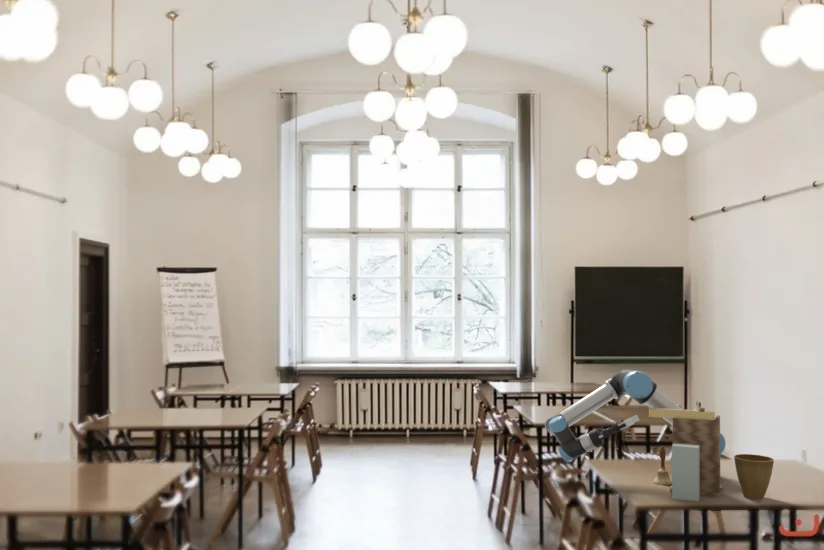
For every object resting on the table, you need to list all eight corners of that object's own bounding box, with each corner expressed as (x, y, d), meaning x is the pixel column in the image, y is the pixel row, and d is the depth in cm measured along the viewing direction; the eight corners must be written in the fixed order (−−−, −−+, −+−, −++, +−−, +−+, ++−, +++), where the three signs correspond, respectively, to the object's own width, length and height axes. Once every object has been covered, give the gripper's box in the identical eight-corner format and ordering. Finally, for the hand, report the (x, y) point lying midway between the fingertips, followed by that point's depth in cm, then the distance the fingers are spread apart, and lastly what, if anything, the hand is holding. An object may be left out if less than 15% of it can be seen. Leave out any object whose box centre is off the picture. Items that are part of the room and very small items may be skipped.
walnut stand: (669, 492, 329) (669, 415, 330) (673, 486, 339) (672, 412, 341) (721, 497, 320) (721, 418, 322) (723, 491, 331) (722, 415, 333)
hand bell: (673, 485, 342) (673, 448, 343) (653, 484, 344) (653, 447, 344) (671, 481, 350) (671, 445, 351) (652, 480, 352) (652, 444, 353)
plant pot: (728, 496, 322) (727, 457, 322) (743, 491, 332) (743, 452, 333) (765, 503, 311) (765, 462, 312) (780, 497, 322) (779, 457, 322)
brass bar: (648, 416, 337) (648, 405, 338) (649, 415, 341) (649, 404, 341) (714, 420, 327) (714, 409, 327) (714, 419, 330) (714, 408, 330)
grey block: (672, 498, 317) (671, 445, 318) (673, 495, 324) (673, 443, 325) (698, 501, 313) (698, 447, 314) (699, 497, 320) (699, 445, 320)
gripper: (602, 444, 360) (644, 423, 353) (590, 452, 337) (635, 430, 330) (594, 428, 362) (635, 408, 355) (581, 436, 339) (626, 414, 332)
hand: (635, 419), depth 342 cm, fingers open, 13 cm apart
